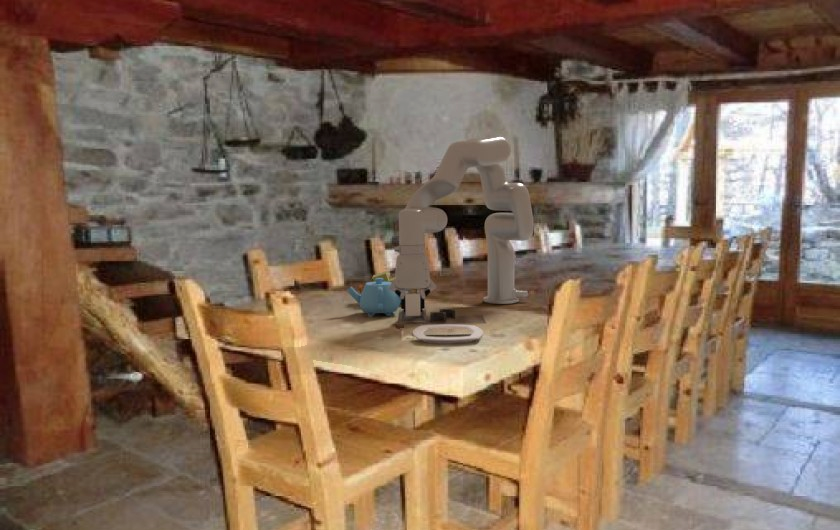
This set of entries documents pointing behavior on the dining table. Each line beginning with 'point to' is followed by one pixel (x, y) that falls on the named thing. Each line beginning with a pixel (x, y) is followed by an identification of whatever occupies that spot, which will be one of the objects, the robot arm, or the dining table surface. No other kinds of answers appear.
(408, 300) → the white square bottle
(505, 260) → the robot arm
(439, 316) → the board
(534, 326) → the dining table surface
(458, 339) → the plate
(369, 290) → the teapot
